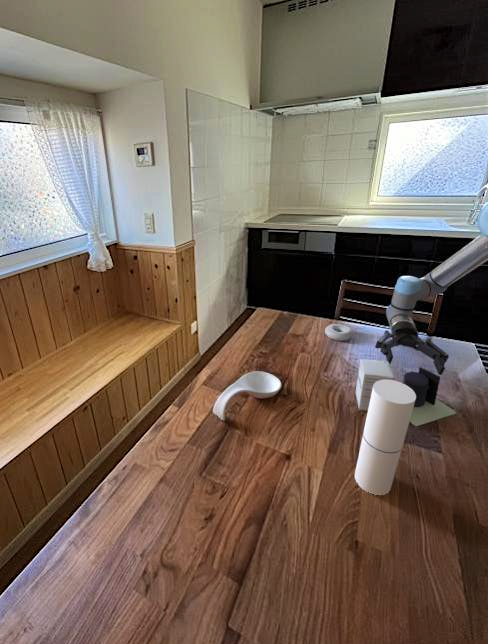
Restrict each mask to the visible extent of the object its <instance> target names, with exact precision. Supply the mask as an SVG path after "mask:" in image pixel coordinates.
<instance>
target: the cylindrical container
mask: <svg viewBox="0 0 488 644" xmlns="http://www.w3.org/2000/svg"><path fill="white" fill-rule="evenodd" d="M415 400H416V394H415V392H414V391H413V390H412V389H411V388H410V387H408V386H407V385H405V384H403V383H402V382H400V381H398V380H395V379H394V380H379V381H377V382H375V383H374V385H373V389H372V394H371V398H370V403H369V408H368V411H367V414H366V417H365V418H366V419H365V423H364V428H363V433H362V436H361V442H360V447H359V453H358V456H357V461H356V467H355V471H354V480H355V482H356V484H357V483H358V484H357V485H358V486H359V487H360V489H361V490H363V491H364V490H365V492H366V493H368V492H369V493H368V494H370V493H371V494H370V495H372V494H374V495H373V496H376V495H380V496H379V497H382V496H381V495H383V496H386V495H388V494H389V493H390V492H389V491H391V489H392V486H393V481H394V479H395V475H396V471H397V467H398V464H399V460H400V457H401V453H402V450H403V446H404V443H405V439H406V436H407V432H408V428H409V425H410V418H411V414H412V410H413V407H414V403H415ZM387 493H388V494H387ZM385 494H386V495H385Z"/></svg>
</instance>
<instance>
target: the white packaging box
mask: <svg viewBox="0 0 488 644" xmlns="http://www.w3.org/2000/svg"><path fill="white" fill-rule="evenodd" d="M379 380H394V381H395V375H394V373H393V369H392V368H391V364H389V362H387V360H376V359H365V358H363V359H361V358H360V360H359V367H358V375H357V381H356V387H355V396H356V401H357V406H358V410H359V411H366V412H368V408H369V403H370V398H371V394H372V389H373V385H374V383H375V382H377V381H379Z"/></svg>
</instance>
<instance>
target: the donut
mask: <svg viewBox="0 0 488 644" xmlns="http://www.w3.org/2000/svg"><path fill="white" fill-rule="evenodd" d="M324 333H325V335H326V337H327V338H329V339H330V340H334V341H338V342H344V341H345V342H346V341H348V340H350V339H351V338H352V337H353V336H354V335H353V334H354V333H353V330H352V328H350V327H349V326H347V325H345V324H339V323H331V324H329V325H327V326H326V327H325V329H324Z"/></svg>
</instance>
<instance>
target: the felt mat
mask: <svg viewBox="0 0 488 644" xmlns="http://www.w3.org/2000/svg"><path fill="white" fill-rule="evenodd" d="M456 414H458V412H457V411H455V410H454V409H452V408H451V407H449V406H448V405H446V404H445V403H444V402H442V401H440V399H438V398H436V401H435V405H432V404H430V403H428V402H427V401H425V404H424V405H423V406H420V407H413V410H412V414H411V418H410V421H409V423H411V424H412V425H413V426H414V427H416V428H417V427H419V426H423V425H427V424H429V423H431V422H435V421H438V420H442V419H444V418H447V417H451V416H454V415H456Z"/></svg>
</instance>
